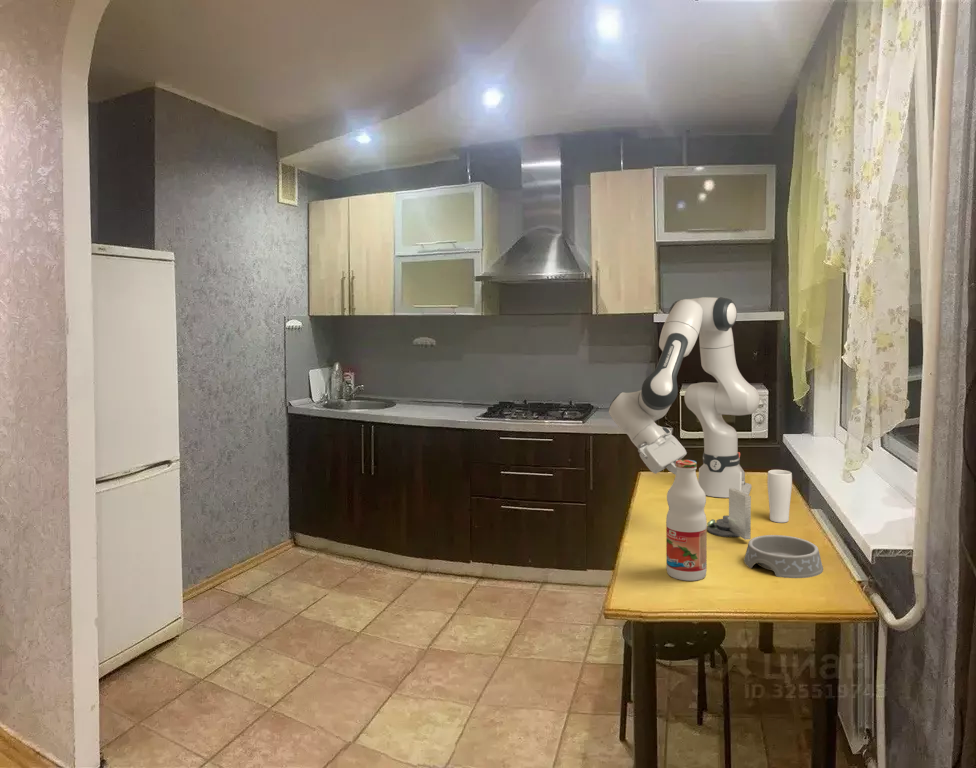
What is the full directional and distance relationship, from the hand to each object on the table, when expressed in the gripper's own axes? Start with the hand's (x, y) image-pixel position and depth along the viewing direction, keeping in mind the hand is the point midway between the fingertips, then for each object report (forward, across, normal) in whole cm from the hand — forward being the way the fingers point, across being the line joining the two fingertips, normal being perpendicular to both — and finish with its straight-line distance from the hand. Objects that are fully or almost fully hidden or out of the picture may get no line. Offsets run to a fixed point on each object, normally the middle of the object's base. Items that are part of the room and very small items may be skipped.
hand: (682, 475), depth 194 cm
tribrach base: (+19, +8, +5) cm, 21 cm away
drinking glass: (+27, +26, -2) cm, 37 cm away
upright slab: (+20, +5, +2) cm, 21 cm away
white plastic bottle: (+20, -30, +3) cm, 36 cm away
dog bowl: (+33, -11, -9) cm, 36 cm away
